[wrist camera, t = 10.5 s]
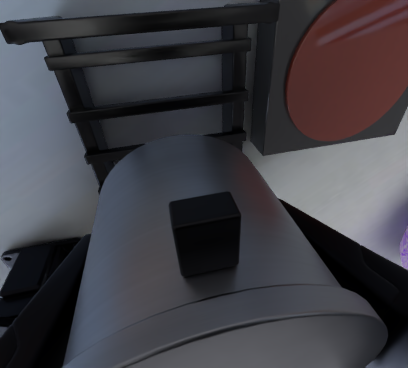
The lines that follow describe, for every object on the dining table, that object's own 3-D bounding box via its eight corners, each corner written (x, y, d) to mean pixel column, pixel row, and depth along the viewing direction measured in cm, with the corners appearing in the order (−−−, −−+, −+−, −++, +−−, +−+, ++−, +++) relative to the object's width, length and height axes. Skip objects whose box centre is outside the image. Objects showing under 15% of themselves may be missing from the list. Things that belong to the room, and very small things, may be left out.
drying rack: (231, 192, 22) (255, 240, 18) (119, 212, 21) (114, 270, 16) (234, 3, 14) (281, 1, 9) (48, 16, 12) (-5, 21, 8)
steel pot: (257, 256, 14) (327, 406, 8) (124, 285, 13) (114, 475, 8) (277, 86, 8) (513, 222, 3) (46, 114, 7) (-195, 388, 2)
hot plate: (386, 130, 18) (389, 132, 18) (276, 148, 17) (278, 150, 17) (452, -25, 13) (458, -25, 13) (299, -15, 12) (302, -16, 12)
